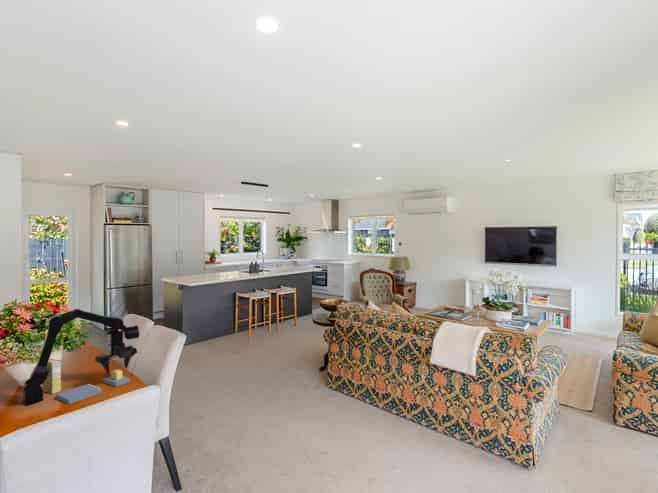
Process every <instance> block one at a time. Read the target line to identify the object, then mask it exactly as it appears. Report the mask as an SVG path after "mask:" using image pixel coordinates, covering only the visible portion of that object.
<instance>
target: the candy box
mask: <svg viewBox="0 0 658 493" xmlns="http://www.w3.org/2000/svg"><path fill="white" fill-rule="evenodd" d="M48 367H50V372H49V374H48V376H47V380H45V382H44V383H43V384H41V385H42V389H43V392H46V393H49V394H50V395H51V394H52V395H53V394H56V393H59V392H62V382H61V381H62V360H59V359H54V358H49V361H48V364H47V368H48Z"/></svg>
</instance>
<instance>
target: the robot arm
mask: <svg viewBox="0 0 658 493" xmlns="http://www.w3.org/2000/svg"><path fill="white" fill-rule="evenodd" d="M75 319H82V320H84V321H90V322H94V323H97V324H102V325H104V326H107V327H108V330H107V331H106V332H105V335H109V338H110V339H109V340H110V341H109V342H110V343H109V344H108V346H109V347H110V351H108V353H109V354H106V353H105V354H104V353H103V354H99V355H97V356H96V357H95V358H94V359H95V360H94V361H95V362H96V363H98V364H101V365H102V366H103V369H104V370H105V372H106V374H107V375H109V374H110V363H111V362H110V360H111V359H113V358H116V357H118V358H119V359H123V361H124V362H123V364H124V368H125V369H128V366H129V363H130V361H131V358H132V357H133V356H135V354H137V353H138V349H137V347H134V346H133V345H129V346H126V344H125V342H124V339H126V340H135V339H139V338H140V329H139V325H131V326H126V325H125V323H124V321H123V319H122V318H121V317H119V316H112V315H110V316H108V315H101V314H97V313H94V312H90V311H87V310H84V309H83V310H82V309H80V308H74V309H73V310H70V311H67V312H64V313H61V314H54V315H52V316H51V317H50V318H49V319H48V326H47V334H46V337H45V340H44V343H43V347H42V349H41V352H40V356H39V358H38V361H37V364H36V365H35V367H34V368H33V369H32V371H31V373H30V375H29V378H28V379H27V380H25V381H24V383H23V389H22V401H20V403H21V404H23V405H25V406H31V405H33V404H36V403H39V402H43V401H45V399H44V391H43V389H42V386H41V385H42V384H43V383H44V382H45V380H47V376H48V374H49V372H50V367H48V368H47V364H48V361H49V359H51V358H50V357H51V355H52V352H53V348H54V345H55V343H56V340H57V337H58V335H59V334H60V332H61V330H62V329H63V327H64V325H65V324H68V323H69V322H73V320H75ZM110 328H111V329H110Z"/></svg>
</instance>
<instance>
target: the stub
mask: <svg viewBox="0 0 658 493" xmlns="http://www.w3.org/2000/svg"><path fill="white" fill-rule="evenodd" d="M130 382H131V378H130V377H128V376H125V375H123V370H121V369H118V368H117V369H114V370H111V371H110V376H107V377H105V378H103V383H105V384H106V385H110V386H113V387H116V388H118V387H121V386H123V385H126V384H128V383H130Z"/></svg>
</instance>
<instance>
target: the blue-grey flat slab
mask: <svg viewBox="0 0 658 493" xmlns="http://www.w3.org/2000/svg"><path fill="white" fill-rule="evenodd" d="M101 393H102V388H101V387H98V386H96V385H93V384H91V383H87V384H83V385H81V386H78V387H75V388H72V389H68V390H66V391H63V392H62V391H61V392H60V393H59V392H58V393H57V394H56V393H55V394H56V396H55V397H56V398H55V399H57V400H59V401H61V402H64V403H65V404H68V405H71V404H74V403H76V402H78V401H81V400H84V399H87V398H90V397H92V396H96V395H99V394H101Z"/></svg>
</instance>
